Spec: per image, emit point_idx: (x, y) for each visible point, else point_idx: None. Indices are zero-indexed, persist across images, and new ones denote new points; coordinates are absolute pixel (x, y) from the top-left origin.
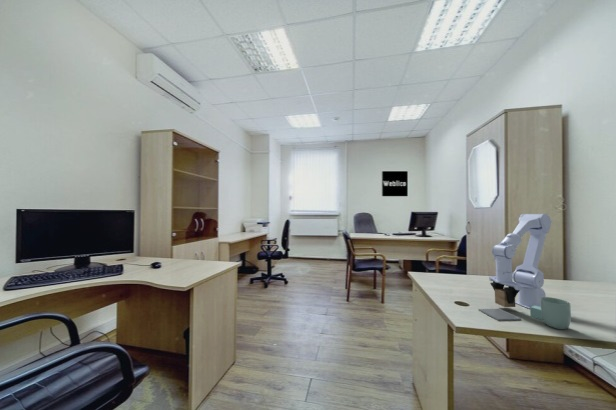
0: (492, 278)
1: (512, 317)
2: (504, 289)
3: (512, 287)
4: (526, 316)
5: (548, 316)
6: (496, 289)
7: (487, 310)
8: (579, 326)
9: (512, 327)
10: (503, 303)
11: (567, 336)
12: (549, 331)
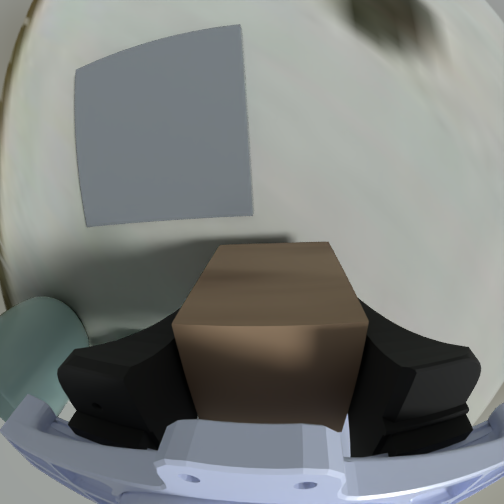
0: (490, 458)
1: (94, 181)
2: (312, 416)
3: (78, 429)
4: (150, 305)
5: (11, 309)
6: (338, 330)
7: (208, 74)
8: None
9: (29, 109)
10: (226, 255)
11: (10, 280)
12: (21, 253)
